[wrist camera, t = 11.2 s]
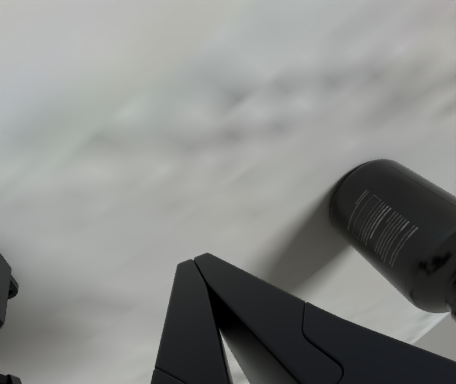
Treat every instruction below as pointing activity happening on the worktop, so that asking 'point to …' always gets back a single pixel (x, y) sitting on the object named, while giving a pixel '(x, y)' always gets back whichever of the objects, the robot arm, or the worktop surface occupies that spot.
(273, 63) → the worktop surface
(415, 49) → the worktop surface
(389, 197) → the supplement bottle
